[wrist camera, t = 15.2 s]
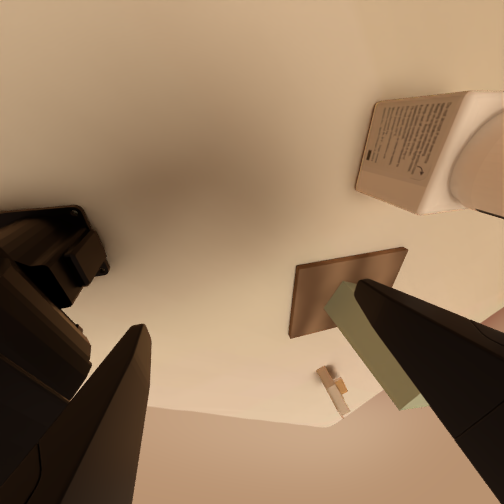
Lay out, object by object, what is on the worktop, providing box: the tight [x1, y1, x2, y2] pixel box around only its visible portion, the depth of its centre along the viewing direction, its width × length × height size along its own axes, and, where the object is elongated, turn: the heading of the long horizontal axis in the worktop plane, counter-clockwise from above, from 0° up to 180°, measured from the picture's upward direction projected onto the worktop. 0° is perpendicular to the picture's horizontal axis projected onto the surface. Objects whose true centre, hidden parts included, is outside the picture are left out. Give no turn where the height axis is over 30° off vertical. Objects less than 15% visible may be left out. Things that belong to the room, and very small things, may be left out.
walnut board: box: [289, 247, 408, 339], centre depth 30 cm, size 16×13×1 cm
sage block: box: [324, 281, 429, 410], centre depth 25 cm, size 5×5×13 cm
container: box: [356, 91, 504, 219], centre depth 16 cm, size 8×8×13 cm
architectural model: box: [317, 366, 350, 419], centre depth 40 cm, size 3×7×7 cm, turn 26°
